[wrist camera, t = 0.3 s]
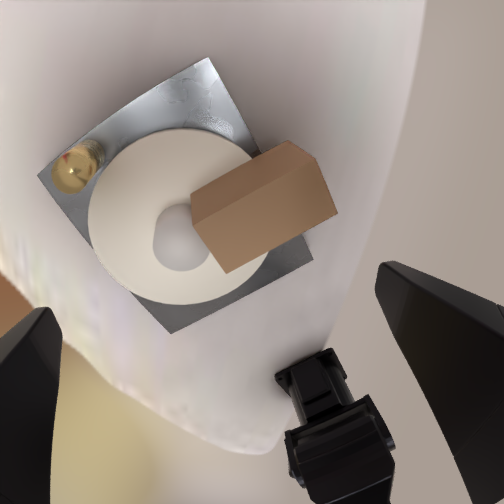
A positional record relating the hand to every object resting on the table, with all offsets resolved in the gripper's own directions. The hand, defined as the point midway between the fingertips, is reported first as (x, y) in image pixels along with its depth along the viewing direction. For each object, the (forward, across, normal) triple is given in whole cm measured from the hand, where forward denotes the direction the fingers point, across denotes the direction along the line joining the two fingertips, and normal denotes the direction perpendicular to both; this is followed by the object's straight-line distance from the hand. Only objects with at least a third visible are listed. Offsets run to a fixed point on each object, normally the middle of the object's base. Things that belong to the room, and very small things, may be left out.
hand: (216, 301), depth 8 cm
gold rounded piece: (+12, +6, -2) cm, 13 cm away
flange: (+12, 0, +2) cm, 12 cm away
